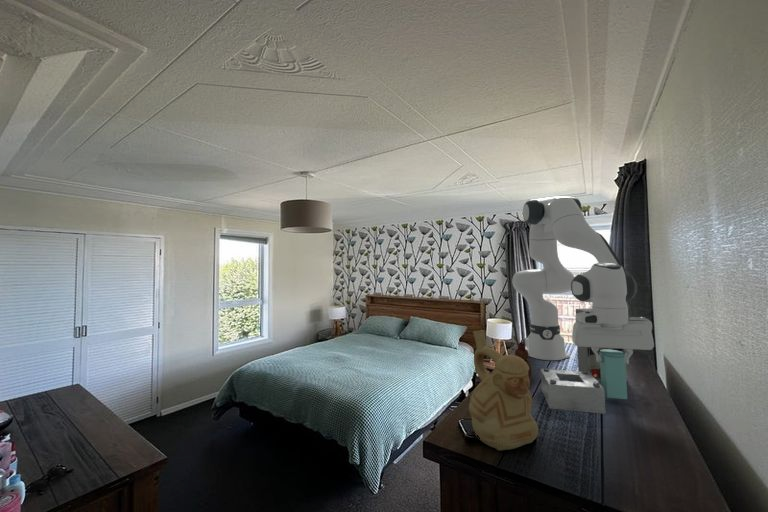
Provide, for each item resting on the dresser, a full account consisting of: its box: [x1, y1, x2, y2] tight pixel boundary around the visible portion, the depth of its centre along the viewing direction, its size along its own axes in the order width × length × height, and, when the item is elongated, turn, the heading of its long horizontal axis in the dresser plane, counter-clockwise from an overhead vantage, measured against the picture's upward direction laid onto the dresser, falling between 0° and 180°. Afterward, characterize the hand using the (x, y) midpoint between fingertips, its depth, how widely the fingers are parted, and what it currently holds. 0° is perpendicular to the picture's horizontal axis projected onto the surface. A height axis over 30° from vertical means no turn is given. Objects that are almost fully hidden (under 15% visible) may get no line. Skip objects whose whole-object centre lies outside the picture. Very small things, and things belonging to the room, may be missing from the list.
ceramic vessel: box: [468, 329, 539, 452], centre depth 79 cm, size 17×20×25 cm
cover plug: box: [600, 349, 628, 400], centre depth 95 cm, size 6×6×13 cm
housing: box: [540, 367, 607, 415], centre depth 97 cm, size 14×14×8 cm
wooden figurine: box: [514, 339, 532, 380], centre depth 115 cm, size 7×6×15 cm
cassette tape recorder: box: [575, 307, 629, 383], centre depth 113 cm, size 14×6×25 cm, turn 90°
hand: (612, 362), depth 95 cm, fingers closed on cover plug, 5 cm apart
